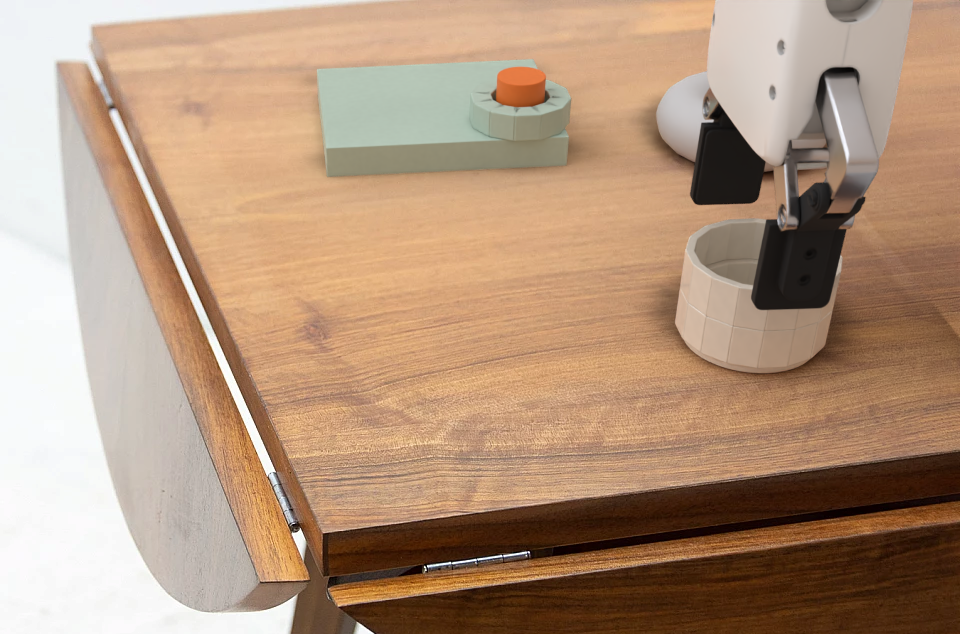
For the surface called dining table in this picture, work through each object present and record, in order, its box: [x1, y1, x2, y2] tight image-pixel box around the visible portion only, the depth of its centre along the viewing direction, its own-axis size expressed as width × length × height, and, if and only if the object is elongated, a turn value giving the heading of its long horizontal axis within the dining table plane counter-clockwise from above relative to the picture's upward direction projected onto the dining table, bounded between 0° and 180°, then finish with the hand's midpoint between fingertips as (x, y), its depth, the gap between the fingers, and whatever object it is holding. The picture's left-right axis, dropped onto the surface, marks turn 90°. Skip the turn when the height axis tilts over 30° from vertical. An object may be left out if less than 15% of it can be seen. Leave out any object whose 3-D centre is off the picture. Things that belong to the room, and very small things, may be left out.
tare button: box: [496, 67, 547, 107], centre depth 80 cm, size 3×3×2 cm
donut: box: [655, 70, 827, 173], centre depth 81 cm, size 10×4×10 cm
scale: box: [316, 58, 572, 178], centre depth 84 cm, size 14×12×4 cm
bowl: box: [674, 217, 844, 374], centre depth 64 cm, size 7×7×4 cm
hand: (753, 250), depth 63 cm, fingers open, 9 cm apart
